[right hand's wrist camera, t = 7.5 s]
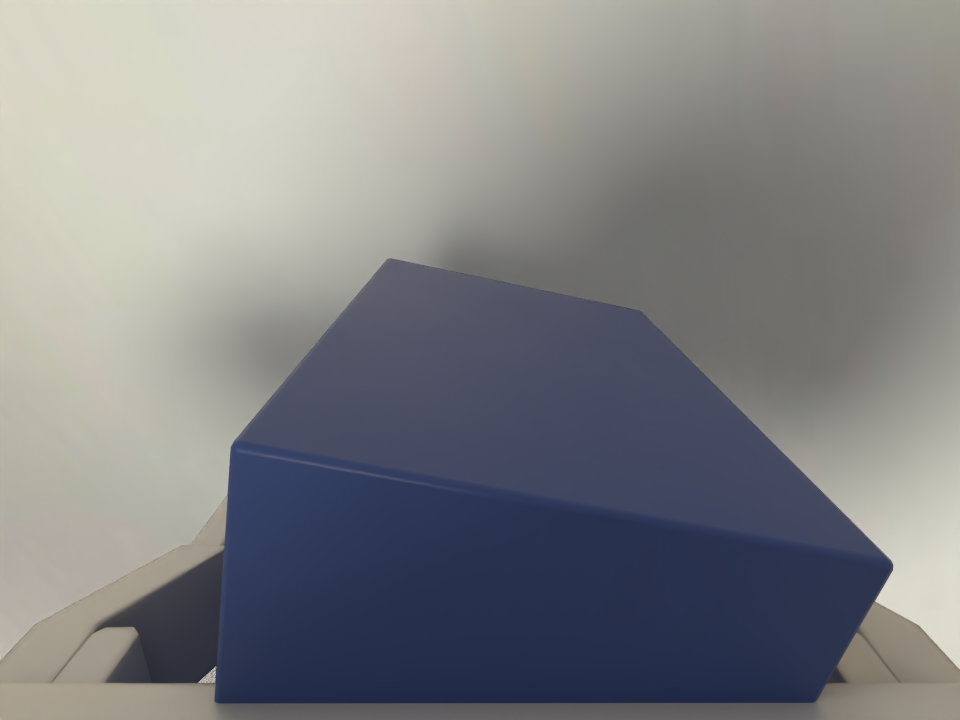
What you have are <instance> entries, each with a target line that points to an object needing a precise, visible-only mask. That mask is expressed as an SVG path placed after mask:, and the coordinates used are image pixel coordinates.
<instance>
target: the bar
mask: <svg viewBox="0 0 960 720" xmlns="http://www.w3.org/2000/svg"><path fill="white" fill-rule="evenodd" d="M892 571H893V563H892V561H891V560H890V559H889V558H888V557H887V556H886V555H885V554H884V553H883V552H882V551H881V550H880V549H879V548H878V547H877V546H876V545H875V544H874V543H873V542H872V541H871V540H870V539H869V538H868V537H867V536H866V535H865V534H864V533H863V532H862V531H861V530H860V529H859V528H858V527H857V526H856V525H855V524H854V523H853V522H852V521H851V520H850V519H849V518H848V517H847V516H846V515H845V514H844V513H843V512H842V511H841V510H840V509H839V508H838V507H837V506H836V505H835V504H834V503H833V502H832V501H831V500H830V499H829V498H828V497H827V496H826V495H825V494H824V493H823V492H822V491H821V490H820V489H819V488H818V487H817V486H816V485H815V484H814V483H813V482H812V481H811V480H810V479H809V478H808V477H807V476H806V475H805V474H804V473H803V472H802V471H801V470H800V469H799V468H798V467H797V466H796V465H795V464H794V463H793V462H792V461H791V460H790V459H789V458H788V457H787V456H786V455H785V454H784V453H783V452H782V451H781V450H780V449H779V448H778V447H777V446H776V445H775V444H774V443H773V442H772V441H771V440H770V439H769V438H768V437H767V436H766V435H765V434H764V433H763V432H762V431H761V430H760V429H759V428H758V427H757V426H756V425H755V424H754V423H753V422H752V421H751V420H750V419H749V418H748V417H747V416H746V415H744V414H743V413H742V412H741V411H740V410H739V409H738V408H737V407H736V406H735V405H734V404H733V403H732V402H731V401H730V400H729V399H728V398H727V397H726V396H725V395H724V394H723V393H722V392H721V391H720V390H719V389H718V388H717V387H716V386H715V385H714V384H713V383H712V382H711V381H710V380H709V379H708V378H707V377H706V376H705V375H704V374H703V373H702V372H701V371H700V370H699V369H698V368H697V367H696V366H695V365H694V364H693V363H692V362H691V361H690V360H689V359H688V358H687V357H686V356H685V355H684V354H683V353H682V352H681V351H680V350H679V349H678V348H677V347H676V346H675V345H674V344H673V343H672V342H671V341H670V340H669V339H668V338H667V337H666V336H665V335H664V334H663V333H662V332H661V331H660V330H659V329H658V328H657V327H656V326H655V325H654V324H653V323H652V322H651V321H650V320H649V319H648V318H647V317H646V316H645V315H644V314H643V313H642V312H641V311H638V310H633V309H629V308H624V307H619V306H614V305H610V304H605V303H600V302H595V301H591V300H586V299H581V298H576V297H572V296H567V295H562V294H557V293H552V292H548V291H543V290H538V289H533V288H529V287H524V286H519V285H514V284H510V283H505V282H500V281H495V280H491V279H486V278H481V277H476V276H472V275H467V274H462V273H457V272H452V271H448V270H443V269H438V268H433V267H429V266H424V265H419V264H414V263H410V262H405V261H400V260H395V259H391V258H390V259H387V260H386V262H385V263H384V264H383V265H382V266H381V267H380V269H379V270H378V271H377V272H376V273H375V275H374V276H373V277H372V278H371V279H370V281H369V282H368V283H367V284H366V285H365V286H364V288H363V289H362V290H361V291H360V292H359V294H358V295H357V296H356V297H355V298H354V300H353V301H352V302H351V303H350V304H349V305H348V307H347V308H346V309H345V310H344V311H343V313H342V314H341V315H340V316H339V317H338V319H337V320H336V321H335V322H334V323H333V324H332V326H331V327H330V328H329V329H328V330H327V332H326V333H325V334H324V335H323V336H322V337H321V339H320V340H319V341H318V342H317V343H316V345H315V346H314V347H313V348H312V349H311V351H310V352H309V353H308V354H307V355H306V356H305V358H304V359H303V360H302V361H301V362H300V364H299V365H298V366H297V367H296V368H295V370H294V371H293V372H292V373H291V374H290V375H289V377H288V378H287V379H286V380H285V381H284V383H283V384H282V385H281V386H280V387H279V389H278V390H277V391H276V392H275V393H274V394H273V396H272V397H271V398H270V399H269V400H268V402H267V403H266V404H265V405H264V406H263V408H262V409H261V410H260V411H259V412H258V413H257V415H256V416H255V417H254V418H253V419H252V421H251V422H250V423H249V424H248V425H247V427H246V428H245V429H244V430H243V431H242V432H241V434H240V435H239V436H238V437H237V438H236V440H235V441H234V442H233V444H232V446H231V452H230V467H229V482H228V498H227V513H226V528H225V544H224V559H223V574H222V590H221V605H220V620H219V635H218V651H217V666H216V681H215V697H214V702H217V703H813V702H815V701H817V699H818V698H819V696H820V694H821V693H822V691H823V689H824V687H825V686H826V684H827V682H828V681H829V679H830V677H831V675H832V674H833V672H834V670H835V669H836V667H837V665H838V663H839V662H840V660H841V658H842V657H843V655H844V653H845V651H846V650H847V648H848V646H849V645H850V643H851V641H852V639H853V638H854V636H855V634H856V633H857V631H858V629H859V627H860V626H861V624H862V622H863V621H864V619H865V617H866V615H867V614H868V612H869V610H870V608H871V607H872V605H873V603H874V602H875V600H876V598H877V596H878V595H879V593H880V591H881V590H882V588H883V586H884V584H885V583H886V581H887V579H888V578H889V576H890V574H891V572H892Z"/></svg>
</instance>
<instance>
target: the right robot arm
mask: <svg viewBox="0 0 960 720" xmlns="http://www.w3.org/2000/svg"><path fill="white" fill-rule="evenodd" d="M227 498H228V495H227V497H226V498H225V499H224V501H223V502H222V503H221V505H220V506H219V507H218V509H217V510H216V511H215V513H214V514H213V516H212V517H211V518H210V520H209V521H208V522H207V524H206V525H205V526H204V528H203V529H202V530H201V532H200V533H199V534H198V536H197V537H196V539H195V540H194V541H193V543H192V544H191V545H182V546H180V547H178V548H176V549H174V550H172V551H171V552H169V553H167V554H165V555H163V556H161V557H159V558H158V559H156V560H154V561H152V562H150V563H148V564H146V565H145V566H143V567H141V568H139V569H137V570H135V571H133V572H132V573H130V574H128V575H126V576H124V577H122V578H120V579H119V580H117V581H115V582H113V583H111V584H109V585H107V586H106V587H104V588H102V589H100V590H98V591H96V592H94V593H93V594H91V595H89V596H87V597H85V598H83V599H81V600H80V601H78V602H76V603H74V604H72V605H70V606H68V607H67V608H65V609H63V610H61V611H59V612H57V613H55V614H54V615H52V616H50V617H48V618H46V619H44V620H43V621H41V622H39V623H37V624H35V625H34V626H33V627H32V628H31V629H30V630H29V631H28V632H27V633H26V634H25V635H24V637H23V638H22V639H21V640H20V641H19V642H18V643H17V644H16V645H15V646H14V647H13V648H12V649H11V650H10V651H9V652H8V654H7V655H6V656H5V657H4V658H3V659H2V660H1V661H0V720H960V670H959V669H958V667H957V666H956V665H955V664H954V663H953V662H952V661H951V660H950V659H949V658H948V657H947V655H946V654H945V653H944V652H943V651H942V650H941V649H940V648H939V647H938V646H937V645H936V644H935V642H934V641H933V640H932V639H931V638H930V637H929V636H928V635H927V634H926V633H925V632H924V630H923V629H922V628H921V627H920V626H919V625H917V624H915V623H913V622H911V621H910V620H908V619H906V618H904V617H902V616H900V615H899V614H897V613H895V612H893V611H891V610H889V609H888V608H886V607H884V606H882V605H880V604H878V603H877V602H874V603H873V605H872V607H871V608H870V610H869V612H868V614H867V615H866V617H865V619H864V621H863V622H862V624H861V626H860V627H859V629H858V631H857V633H856V634H855V636H854V638H853V639H852V641H851V643H850V645H849V646H848V648H847V650H846V651H845V653H844V655H843V657H842V658H841V660H840V662H839V663H838V665H837V667H836V669H835V670H834V672H833V674H832V675H831V677H830V679H829V681H828V682H827V684H826V686H825V687H824V689H823V691H822V693H821V694H820V696H819V698H818V699H817V701H815V702H813V703H217V702H214V697H215V683H198V682H199V681H200V680H201V679H202V678H203V677H204V676H205V675H206V674H207V673H209V672H210V671H211V670H212V669H213V668H214V667H215V666H216V665H217V651H218V635H219V620H220V605H221V590H222V574H223V559H224V544H225V528H226V513H227Z"/></svg>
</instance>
